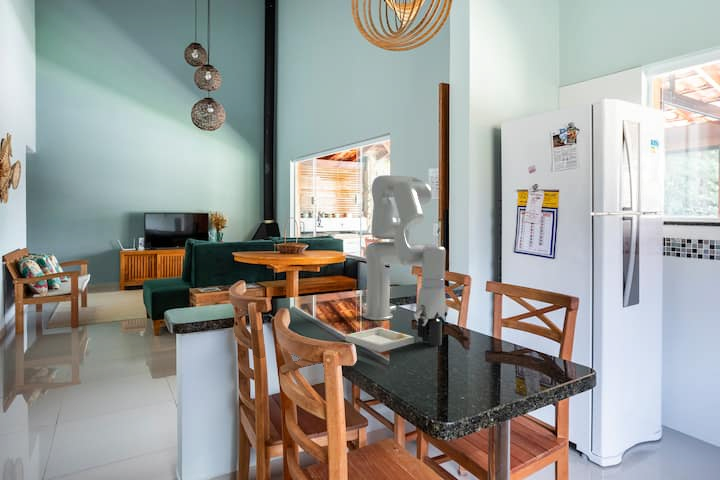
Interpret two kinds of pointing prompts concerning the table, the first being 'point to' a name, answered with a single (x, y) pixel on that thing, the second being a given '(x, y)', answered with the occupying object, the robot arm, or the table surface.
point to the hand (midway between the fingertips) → (431, 334)
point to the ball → (400, 336)
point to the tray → (379, 339)
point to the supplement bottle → (433, 332)
